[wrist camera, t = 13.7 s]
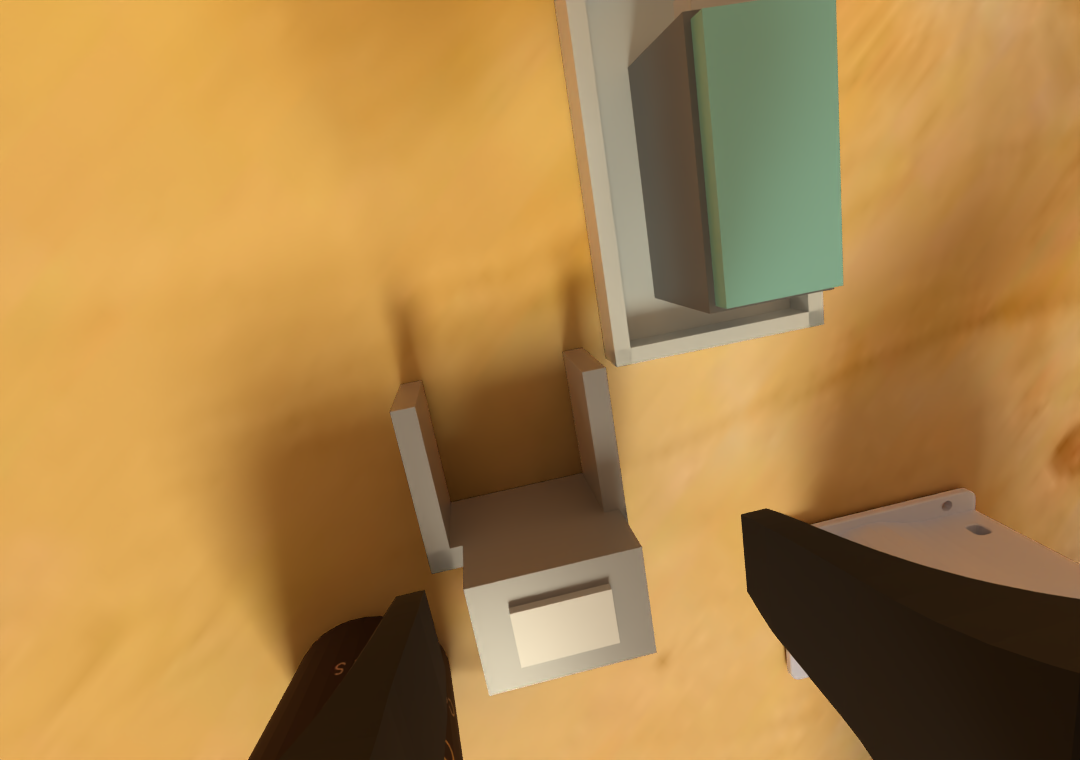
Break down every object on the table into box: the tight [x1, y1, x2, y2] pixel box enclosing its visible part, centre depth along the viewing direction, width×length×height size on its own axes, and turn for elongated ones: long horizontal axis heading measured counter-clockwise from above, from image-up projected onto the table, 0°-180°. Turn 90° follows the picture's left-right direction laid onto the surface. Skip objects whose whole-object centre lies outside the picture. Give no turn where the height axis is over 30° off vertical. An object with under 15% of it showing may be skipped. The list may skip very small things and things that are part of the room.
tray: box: [554, 0, 824, 367], centre depth 20 cm, size 8×13×2 cm, turn 9°
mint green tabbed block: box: [628, 0, 843, 314], centre depth 17 cm, size 4×9×6 cm, turn 9°
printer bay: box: [390, 348, 657, 696], centre depth 19 cm, size 7×9×6 cm
